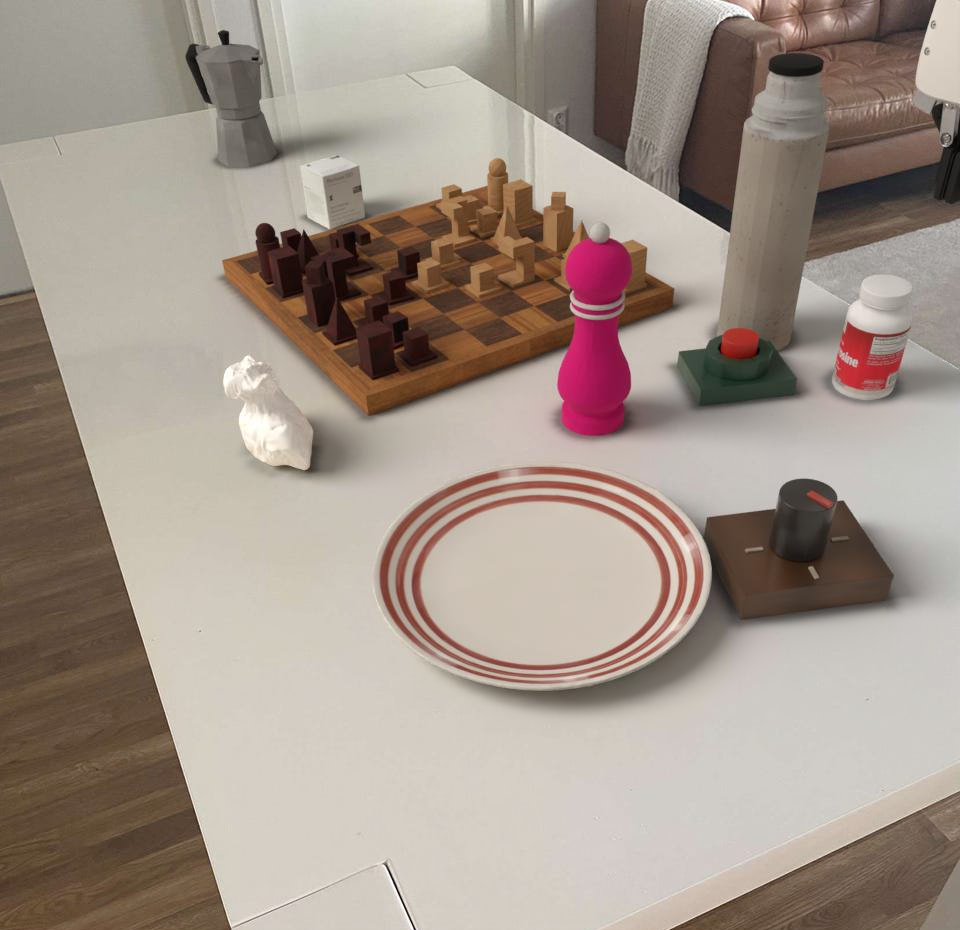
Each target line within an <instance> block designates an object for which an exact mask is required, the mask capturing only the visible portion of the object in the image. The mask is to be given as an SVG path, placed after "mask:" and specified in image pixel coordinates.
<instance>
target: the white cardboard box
mask: <svg viewBox="0 0 960 930" xmlns="http://www.w3.org/2000/svg"><path fill="white" fill-rule="evenodd" d="M299 169H300V171H299V172H300V176H301V182H302V189H303V194H304V195H303V196H304V201H305V202H304V203H305V208H306V216H307V219H309V220H311V221H313V222H315V223H317V224H319V225H321V226H322V227H325V228H326V229H328V230H332V229H335V228H339V227H342V226H345V225H348V224H349V223H350V224H351V223H354V222H356V221H360V220H363V219H365V218H366V211H365V204H364V195H363V187H362V186H363V185H362V179H361V178H362V177H361V169H360V165H359V164H358V163H356V162H354V161H351V160H348V159H347V158H345V157H342V156H340V155H338V154H335V155H332V156H329V157H325V158H321V159H317V160H314V161H312V162H309V163H305V164H301V165H300V166H299Z"/></svg>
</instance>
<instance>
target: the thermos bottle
mask: <svg viewBox="0 0 960 930" xmlns="http://www.w3.org/2000/svg"><path fill="white" fill-rule="evenodd" d="M824 64H825V60H824V59H823V58H822V57H820V56H818V55H815V54H812V53H811V54H810V53H803V52H789V53H788V52H787V53H779V54H776V55H774V56H772V57H770V58H769V60H768V66H767V67H768V68H767V69H768V71H769V73H768V74H767V76H766V83H765V84H766V85H765V89H764V90H762V91H761V92H759V93H758V94H756V95H755V97H754V102H753V106H752V107H751V113H752V115H751V116H749V117H748V118H746V120H745V121H744V123H743V130H742V137H741V144H740V154H739V161H738V167H737V176H736V182H735V184H736V185H735V192H734V198H733V207H732V214H731V223H730V229H729V236H728V237H729V238H728V246H727V254H726V260H725V261H726V262H725V269H724V277H723V286H722V292H721V299H720V307H719V316H718V323H717V330H716V331H717V332H716V337H718V336H720V335H723V334H724V332H725V331H727V330H729V329H733V328H746V329H750V330H752V331H754V332H756V333H757V334H758V336H759V338H761V339H763V340H765V341H770V342H771V343H772V345H773V346H774V347H775V349H776V350H777V352H778V351H781V350H782V349H784V348H786V347H787V346H788V345H789V344H790V341H791V339H792V332H793V328H794V322H795V317H796V310H797V305H798V301H799V294H800V289H801V285H802V279H803V273H804V268H805V263H806V262H805V261H806V256H807V251H808V245H809V241H810V235H811V231H812V230H811V229H812V224H813V218H814V213H815V208H816V203H817V197H818V192H819V186H820V182H821V175H822V170H823V164H824V158H825V154H826V149H827V143H828V139H829V138H828V137H829V133H830V124H829V122H828V120H826V119H825V118H824V117H825V113H826V111H827V110H828V107H827V98H826V96H825V95H824V94H823V93H822V92H821V91H820V87H821V79H822V77H821V72H822V71H823V69H824Z"/></svg>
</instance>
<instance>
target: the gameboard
mask: <svg viewBox="0 0 960 930" xmlns="http://www.w3.org/2000/svg"><path fill="white" fill-rule="evenodd" d="M486 177H487V179H486V181H487V185H485V186H482V187H478V188H474V189H470V190H467V191H464V192H463V189H462V187H460V186H458V185H456V184H454V183H453V184H450V185H447V186H442V187H441V198H439V199H435V200H432V201H428V202H425V203H421V204H418V205H414V206H409V207H407V208H404V209H403V208H402V209H400V210H397V211H393V212H389V213H385V214H382V215H379V216H375V217H371V218H368V219H363V220H359V221H357V222H352V223H350V224H345V225H341V226H338V227H336V228H333V229H328V230H325V231H321V232H318V233H314V234H311V235H308V234H307V232H306V230H305V228H303V229H302V232H300V231H299V230H297V229H296V228H295V227H294V228H290V229H286V230H282V231H280V232H279V234H280V239H279V237H278V236H276V230H275V228H274V226H273V225H271V224H270V223H268V222H262V223H260V224H258V225H257V226H256V228H255V234H254V235H255V237H256V240H255V246H256V250H254V251H250V252H247V253H243V254H239V255H236V256H232V257H229V258H225V259H222V260H221V262H222V267H223V271H224V275H225V279H227V280H228V281H229V282H230V283H231V285H233V287H235V288H236V289H237V290H238V291H239V292H240V293H241V294H242V295H243V296H244V297H245V298H246V299H247V300H248V301H249V302H250V303H251V304H253V305H254V307H255V308H256V309H257V310H259V312H261V314H262V315H264V316H265V317H266V319H268V321H270V322H271V323H272V324H273V325H274V326H275V327H276V328H277V329H278V330H279V331H280V332H281V333H282V334H283V335H284V336H285V337H286V338H288V339H289V340H290V341H291V342H292V343H293V344H294V346H295V347H297V348H298V349H299V350H300V351H301V353H303V354H304V355H305V356H306V357H307V358H308V359H309V360H310V361H311V362H312V363H313V364H315V365H316V367H318V369H320V370H321V371H322V373H323V374H325V375H326V376H327V377H328V378H329V379H330V380H331V381H332V382H333V383H334V384H335V385H336V386H337V387H338V388H339V389H340V390H341V391H342V392H343V393H344V394H345V395H346V396H348V398H350V400H352V402H354V404H356V406H358V407H359V409H361V410H362V411H363V413H365V414H366V415H367V416H372V415H375V414H376V413H380V412H383V411H385V410H389V409H391V408H394V407H397V406H400V405H403V404H405V403H408V402H410V401H411V402H412V401H414V400H417V399H420V398H422V397H425V396H428V395H430V394H433V393H436V392H440V391H442V390H445V389H448V388H450V387H454V386H455V385H456V386H457V385H458V384H461V383H464V382H467V381H469V380H472V379H475V378H479V377H481V376H484V375H486V374H490V373H493V372H495V371H497V370H501V369H504V368H506V367H509V366H511V365H515V364H518V363H520V362H523V361H525V360H528V359H532V358H534V357H538V356H540V355H542V354H546V353H548V352H550V351H554V350H556V349H560V348H562V347H565V346H568V345H570V344H571V342H572V339H573V335H574V329H575V314H574V313H573V312H572V311H571V309H570V303H571V300H570V294H571V292H572V291H573V290H572V288H571V287H570V286H569V284H568V282H567V280H566V276H565V267H566V261H567V258H568V255H569V253H570V252H571V250H572V249H573V248H574V247H575V246H576V245H577V244H578V243H580V242H581V241H583V240H585V239H588V238H590V235H589V233H588V232H587V229H586V227H585V225H584V224H585V223H584V222H583V220H581V221H580V222H579V225H578V227H577V229H576V231H574V207H571V206H570V205H567V192H566V191H552V192H551V196H550V205H547V206H545V207H543V210H542V211H543V212H542V213H541V212H539V211H537V210H535V209H534V202H533V199H534V198H533V195H534V193H533V192H534V191H533V188H534V187H533V185H532V184H531V183H529V182H527V181H525V180H523V179H517V180H513V181H510V182H509V173H508V172H507V164H506V162H505V161H504V159H502V158H500V157H495V158H493V159H492V160H491V161H490V162H489V163H488V173H487V176H486ZM280 240H281V242H280ZM620 243H621V244H622V245H623V246H624V247H625V248H626V249H627V251H628V253H629V254H630V257H631V261H632V276H631V279H630V282H629V283H628V285H627V286H626V288H625V289H624V290H623V292H624V294H625V299H624V305H625V306H624V310H623V311H622V312H621V313H620V314H619V319H618V327H621V326H625V325H627V324H630V323H632V322H635V321H638V320H640V319H643V318H646V317H649V316H652V315H655V314H657V313H660V312H664V311H665V310H668V309H671V308H673V306H674V298H675V297H674V296H675V288H674V287H672V286H671V285H669V284H667V283H665V282H664V281H662V280H660V279H658V278H657V277H655V276H654V275H652V274H650V273H648V272H646V271H647V259H648V247H647V246H645V245H643V244H642V243H640V242H638V241H636V240H635V239H630V240H627V241H623V242H620Z"/></svg>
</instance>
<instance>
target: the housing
mask: <svg viewBox="0 0 960 930" xmlns="http://www.w3.org/2000/svg"><path fill="white" fill-rule="evenodd" d="M722 337H723V335H720V336H718V337H717V336H716V337H714V338H712V339H710V340H709V341H708V342H707V345H706V347H705V348H696V349H687V350H686V349H685V350H679V351H678V355H677V364H676V369H677V370H678V372H679V374H680V375H681V377H682V379H683V380H684V382H685V384H686V386H687V387H688V390H690V393H691V395H692V396H693V398H694V400H695V402H696V404H697V406H698V407H704V406H705V407H706V406H712V405H720V404H721V405H722V404H729V403H731V404H732V403H738V402H739V403H740V402H747V401H755V400H764V399H773V398H781V397H788V396H795V391H796V386H797V383H798V382H797V381H798V378H797V376H796V375H795V373H794V372H793V371H792V370H791V368H790V367H789V365H788V363H786V361H785V360H784V358H783V357H782V356H781V354H780V353H779V352H778V351H777V350H776V349H775V347H774V346H773V345H772V343H771V342H770V341H765V340H763V339H761V338H759V341H758V347H757V353H756V355H755V356H754V357H752V358H750V359H741V360H740V359H734V358H729V357H727V356H725V355H723V354H722V353H721V344H722Z"/></svg>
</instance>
